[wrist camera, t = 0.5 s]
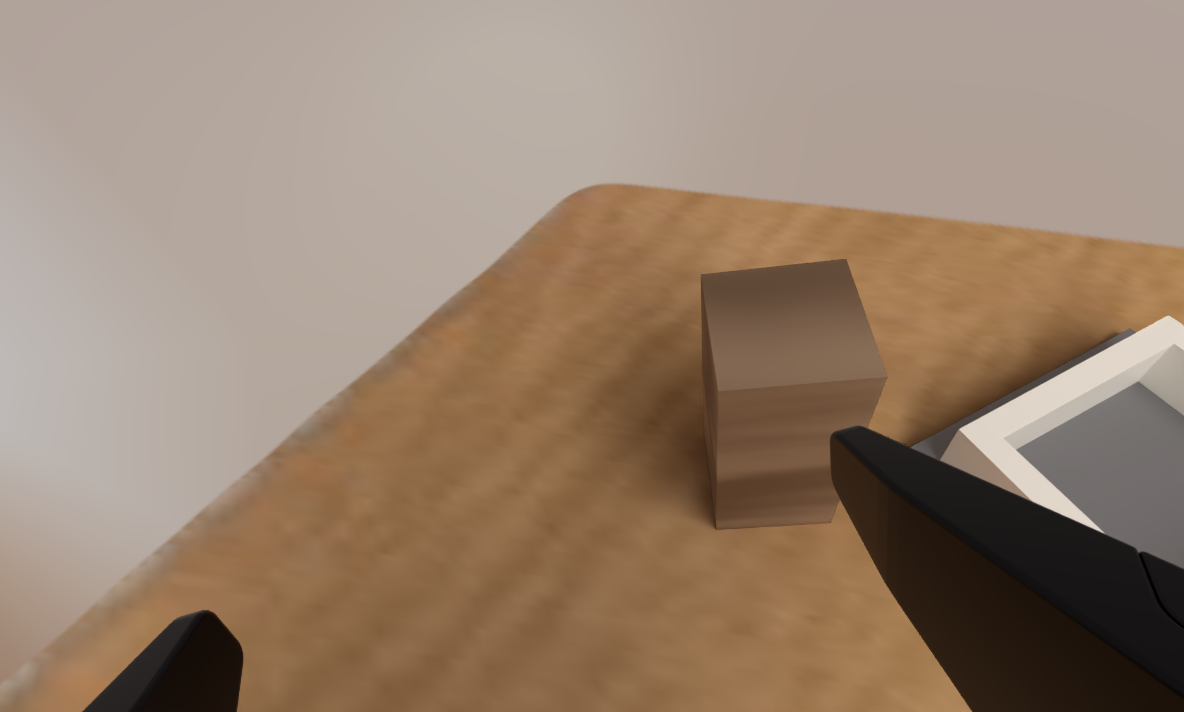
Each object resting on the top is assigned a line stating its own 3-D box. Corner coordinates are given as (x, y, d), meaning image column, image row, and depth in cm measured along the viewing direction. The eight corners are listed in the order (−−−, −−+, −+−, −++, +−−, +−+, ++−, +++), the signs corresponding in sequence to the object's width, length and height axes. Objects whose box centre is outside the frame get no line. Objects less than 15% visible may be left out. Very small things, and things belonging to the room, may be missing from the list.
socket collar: (1470, 584, 20) (1572, 551, 18) (1188, 778, 18) (1259, 771, 16) (1124, 335, 27) (1162, 288, 25) (897, 458, 25) (916, 420, 23)
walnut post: (830, 522, 24) (887, 376, 16) (716, 529, 25) (718, 391, 17) (806, 425, 27) (845, 258, 19) (703, 433, 28) (700, 274, 20)
